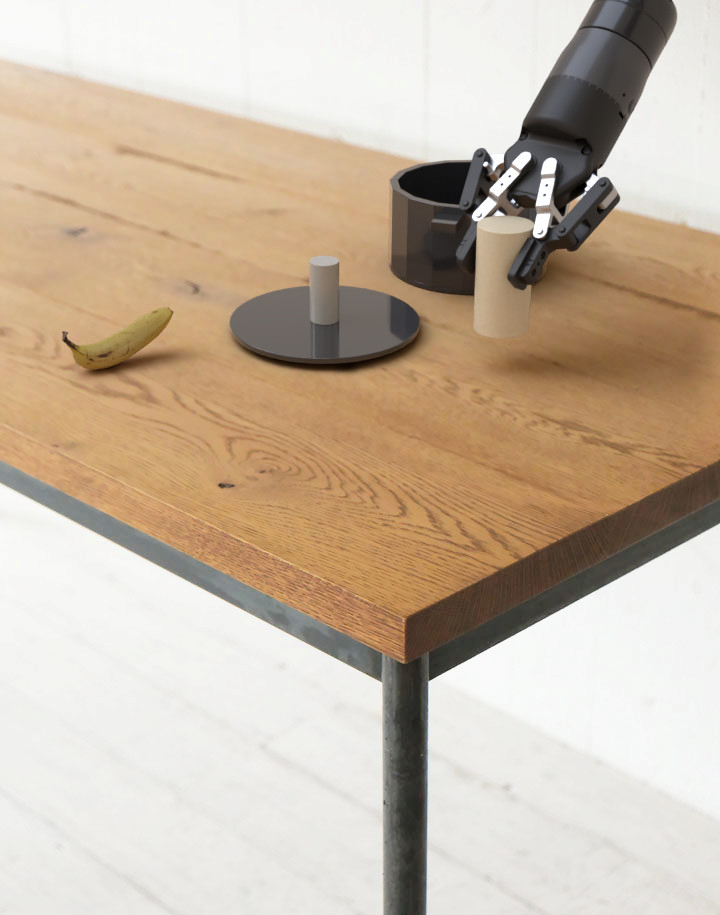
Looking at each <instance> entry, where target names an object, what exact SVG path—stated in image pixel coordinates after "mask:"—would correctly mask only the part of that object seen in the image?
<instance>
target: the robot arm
mask: <svg viewBox="0 0 720 915" xmlns="http://www.w3.org/2000/svg"><path fill="white" fill-rule="evenodd" d="M677 22H678V10H677V7H676V4H675V2H674V1H673V0H593V1H592V3H591V5H590V6H589V9H588V10H587V12H586V14H585V16H584V18H582V21H581V23H580V25H579V26H578V28H577V30H576V32H575V33H574V35H573V36H572V38H571V40H570V41H569V42H568V44H567V45H566V46H565V48H564V49H563V50H562V51H561V53H560V54H559V56H558V58H557V59H556V61H555V63H554V64H553V67H552V68H551V69H550V72H549V73H548V75H547V77H546V79H545V81H544V82H543V85H542V86H541V88H540V89H539V92H538V94H537V95H536V97H535V99H534V100H533V103H532V104H531V106H530V108H529V109H528V111H527V113H526V114H525V117H524V118H523V120H522V123H521V129H520V133H519V136H518V138H517V140H516V141H515V142H514V143H513V144H512V145H510V147H508V148H507V149H506V150H505V153H504V152H503V153H489V152H488V151H487V150H486V148H484V147H479V148H477V149H476V150H475V151H474V152H473V155H472V158H471V160H472V161H471V165H470V168H469V172H468V175H467V179H466V182H465V186H464V189H463V193H462V196H461V199H460V203H459V208H460V209H461V210H462V211H463V213H464V214H465V215H466V216H467V218H468V219H469V220H470V221H471V226H470V228H469V229H468V231H467V233H466V235H465V236H464V238H463V241H462V242H461V244H460V245H459V247H458V249H457V251H456V257H457V260H456V263H457V265H458V266H459V267H460V268H461V269H462V271H463V272H465V273H468V274H471V275H472V274H474V273H475V269H476V241H477V223H478V221H479V220H481V219H483V218H486V217H490V216H491V215H492V214H493V213H494V212H495V211H496V210H497V209H498V210H497V211H496V212H495V213H494V214H493V215H492V216H501V215H506V216H518V215H519V213H520V212H521V211H522V210H523V209H524V208H536V212H537V216H536V220H535V225H534V229H533V236H534V237H533V238H532V239H531V238H527V240H526V241H525V243H524V245H523V247H522V249H521V250H520V252H519V254H518V256H517V258H516V259H515V261H514V263H513V265H512V267H511V268H510V270H509V272H508V275H507V279H508V281H509V282H510V283H511V284H512V286H513V287H514V288H516V289H519V290H525V289H526V287H527V285H531V284H532V283H533V282H534V281H535V280H536V278H537V276H538V274H539V273H540V271H541V269H542V267H543V265H544V263H545V262H546V260H547V258H548V256H549V257H550V255H551V254H553V253H555V252H556V251H558V250H565V249H566V251H568V252H569V253H573V252H577V251H578V250H579V248H580V247H581V246H582V245H583V243H585V242H586V240H588V238H589V237H590V236H591V235H592V234H593V233H594V231H595V230H596V229H597V228H598V227H599V226H600V225H601V223H602V222H603V221H604V220H605V219H606V217H608V216H609V215H610V213H611V212H612V211H613V210H614V209H615V208H616V206H617V205H618V204H619V203H620V201H621V196H620V194H619V191H618V190H617V188H616V187H615V185H614V184H613V183H612V181H611V180H610V178H609V177H607V176H601V177H599V176H598V171H599V170H600V169H601V168H603V166H604V165H605V163H606V162H607V160H608V158H609V156H610V154H611V152H612V150H613V149H614V147H615V145H616V144H617V142H618V140H619V138H620V136H621V134H622V133H623V131H624V129H625V127H626V125H627V123H628V121H629V119H630V118H631V116H632V114H633V112H635V108H636V107H637V105H638V103H639V101H640V99H641V97H642V96H643V93H644V90H645V87H646V85H647V82H648V80H649V77H650V75H651V73H652V71H653V69H654V67H655V66H656V65H657V62H658V60H659V59H660V56H661V55H662V53H663V51H664V49H665V47H666V46H667V44H668V42H669V40H670V39H671V37H672V35H673V33H674V31H675V28H676V25H677ZM503 170H505V174H504V175H503V176H502V177H501V178H499V175H500V173H501V172H502V171H503ZM494 181H495V182H496V183H495V184H494ZM507 193H509V194H510V196H511V197H512V198H513V199H512V200H511V201H510V202H509V200H508V199H507ZM582 195H583V196H582ZM581 196H582V197H581ZM579 197H581V198H580V199H579V200H578V202H577V203H576V204H575V205H574V206H573V208H572V209H571V210H570V206H571V202H573V201H574V200H576V199H578V198H579ZM569 210H570V211H569ZM531 286H532V285H531Z"/></svg>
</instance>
